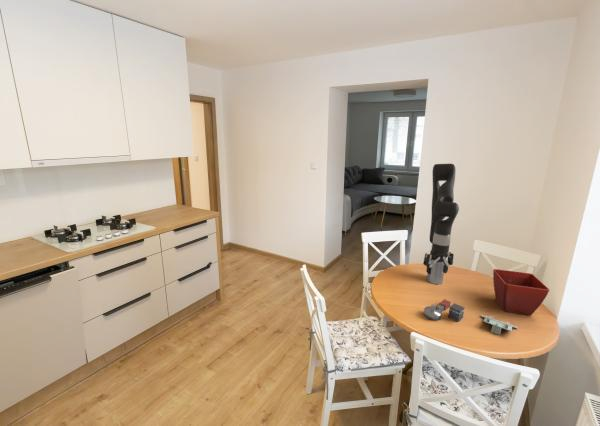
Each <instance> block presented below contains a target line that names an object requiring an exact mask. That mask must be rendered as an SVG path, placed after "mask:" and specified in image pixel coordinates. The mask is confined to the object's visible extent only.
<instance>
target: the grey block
mask: <svg viewBox="0 0 600 426" xmlns="http://www.w3.org/2000/svg"><path fill="white" fill-rule="evenodd" d="M448 309H449V310H448V314H447V316H448V317H447V318H449V319H451V320H454V321H456V323H457V322H458V323H460V321H462V320H463V318H464V315H465V314H464V312H465V307H464V306H462V305H459V304H458V303H452V304H450V307H449V308H448Z"/></svg>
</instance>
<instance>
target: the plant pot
mask: <svg viewBox="0 0 600 426" xmlns="http://www.w3.org/2000/svg"><path fill="white" fill-rule="evenodd" d="M492 274H493V276H492V280H493V290H494V296H495V300H496V302H497V303H498V305H500V307H501V309H502V310H503V311H504V312H508V313H515V314H521V315H527V316H532V315H533V314H534V313H535V312H536V311H537V310H538V309H539V307H540V306H541V305H542V304H543V302H544V300H545V299H546V297H547V296H548V294H549V292H550V289H549V288H548V286H547V285H545V283H544V282H542V281H541V280H540V279H539V278H538V277H536V276H535V275H534V274H533V273H529V272H523V271H522V272H521V271H515V270H507V269H498V268H497V269H496V268H494V269H493V273H492Z"/></svg>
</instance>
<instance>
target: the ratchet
mask: <svg viewBox="0 0 600 426" xmlns="http://www.w3.org/2000/svg"><path fill="white" fill-rule="evenodd" d="M451 303H452V302H451V301H449V300H447V299H443V300H441V301H440V302H439V303H438V304H437V305H435V304H431V305H430V306H429V305H427V306H425V307H424V308H423V316H424V318H426V319H427V320H430V321H434V322H439V321H440V320H441V319H442V313H443V312H444V311H446V310H448V309H450V306H451V305H452V304H451Z"/></svg>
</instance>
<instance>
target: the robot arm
mask: <svg viewBox="0 0 600 426" xmlns="http://www.w3.org/2000/svg"><path fill="white" fill-rule="evenodd" d="M455 181H456V166H455V165H454V163H435V164H434V165H433V166H432V196H431V197H432V199H431V219H430V221H431V222H430V223H431V224H430V230H429V231H430V232H429V242H430V243H431V244H432V245H431V249H430V250H429V251H430V253H428V252H425V253H424V258H423V263H422V264H423V265H424V266H425V267H426V281H427V282H429V283H431V284H433V285H441V284H443V282H444V275H445V274H447V273H448V271H449V267H450V266H453V264H454V256H455V255H454V253H452V251H451V252H450V251H449V250H450V245H451V233H452V228H453V224H454V221H455V219H456V218H457V215H458V213H459V211H460V207H459V205H458V203H457V202H454V199H455V198H454V189H455ZM440 182H443V183H442V184H440Z"/></svg>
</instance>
